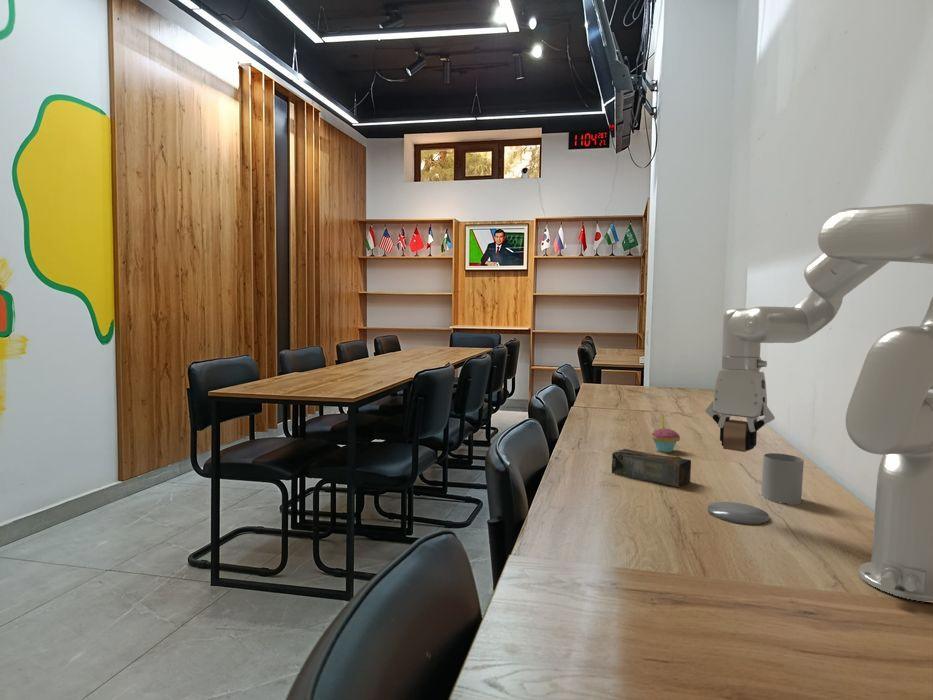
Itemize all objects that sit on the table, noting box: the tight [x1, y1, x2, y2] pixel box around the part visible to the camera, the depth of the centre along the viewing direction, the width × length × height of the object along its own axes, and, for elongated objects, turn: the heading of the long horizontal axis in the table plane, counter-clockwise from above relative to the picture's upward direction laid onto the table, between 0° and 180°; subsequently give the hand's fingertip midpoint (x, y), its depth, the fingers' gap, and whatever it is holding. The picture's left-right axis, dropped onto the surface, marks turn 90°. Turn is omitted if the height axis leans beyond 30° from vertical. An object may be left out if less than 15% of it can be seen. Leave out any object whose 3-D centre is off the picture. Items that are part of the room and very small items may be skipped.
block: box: [722, 419, 750, 453], centre depth 125 cm, size 4×4×6 cm
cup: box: [760, 452, 805, 505], centre depth 135 cm, size 8×8×10 cm
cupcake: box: [651, 412, 681, 453], centre depth 181 cm, size 9×8×12 cm
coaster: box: [707, 501, 770, 525], centre depth 123 cm, size 12×12×1 cm
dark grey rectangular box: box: [611, 448, 692, 488], centre depth 150 cm, size 8×19×7 cm, turn 49°
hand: (737, 446), depth 125 cm, fingers closed on block, 4 cm apart
